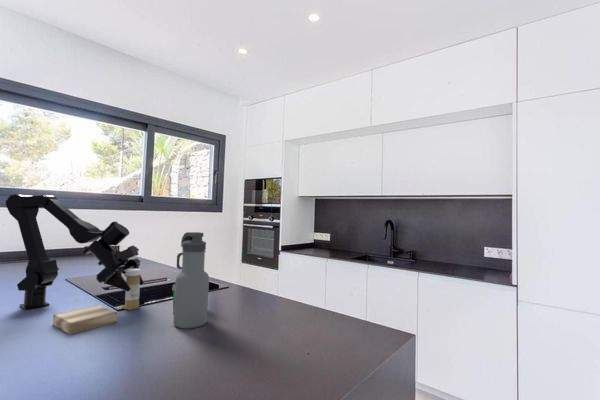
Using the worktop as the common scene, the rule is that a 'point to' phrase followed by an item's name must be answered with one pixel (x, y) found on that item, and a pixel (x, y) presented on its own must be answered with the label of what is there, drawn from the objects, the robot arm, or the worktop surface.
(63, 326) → the oak stand
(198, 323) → the water bottle
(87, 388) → the worktop surface
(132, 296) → the sprinkles bottle
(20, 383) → the worktop surface
